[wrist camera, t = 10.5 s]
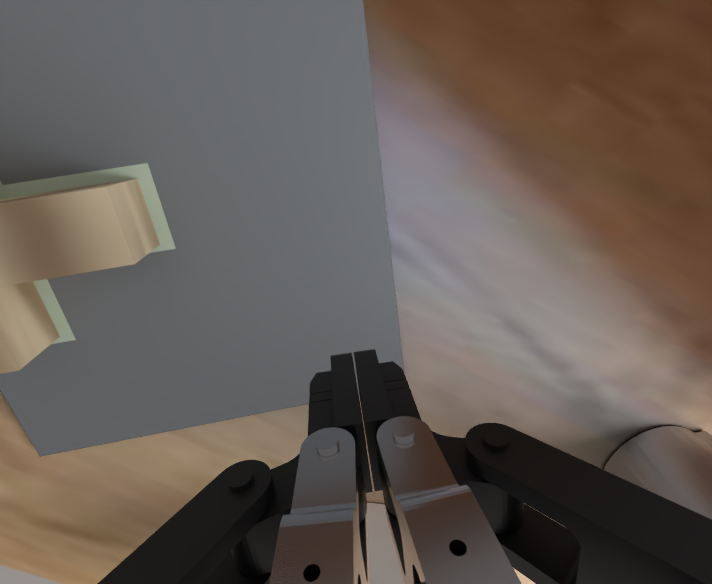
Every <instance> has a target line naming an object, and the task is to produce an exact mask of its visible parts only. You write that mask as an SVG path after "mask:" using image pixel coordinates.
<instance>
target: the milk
mask: <svg viewBox="0 0 712 584" xmlns="http://www.w3.org/2000/svg"><path fill="white" fill-rule="evenodd" d="M366 519H367V535H368V558H369V580H370V584H404V580H403V577H402V573H401V569H400V565H399V562H398V558H397V554H396V551H395V547H394V543H393V539H392V536H391V532H390V528H389V524H388V521H387V516H386V509H385V504H376V503H367V513H366Z"/></svg>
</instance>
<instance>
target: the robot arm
mask: <svg viewBox="0 0 712 584" xmlns="http://www.w3.org/2000/svg"><path fill="white" fill-rule="evenodd" d="M330 358H331V371H326V372H319V373H316V374H315V376H314V377H313V379H312V380H311V382H310V391H309V394H310V396H309V421H308V437H307V438H306V439H305V441H304V442H303V444H302V446H301V450H300V454H299V455H298V456H296V457H295V458H294V459H292V460H291V461H289V462H287V463H285V464H283V465H281V466H278V467H276V468H273V469H271V470H270V468H269V467H268V466H267V465H266V464H265V463H264V462H261V461H258V460H245V461H241V462H238V463H236V464H234V465H232V466H230V467H228V468H227V469H225V470H224V471H223V472H222V473H221V474H219V475H218V476H217V477H216V478H215V479H214V480H213V481H212V482H211V483H209V484H208V485H207V486H206V487H205V488H204V489H203V490H202V491H201V492H199V493H198V494H197V495H196V496H195V497H194V498H193V499H192V500H190V501H189V502H188V503H187V504H186V505H185V506H184V507H183V508H182V509H180V510H179V511H178V512H177V513H176V514H175V515H174V516H173V517H172V518H170V519H169V520H168V521H167V522H166V523H165V524H164V525H163V526H162V527H160V528H159V529H158V530H157V531H156V532H155V533H154V534H153V535H151V536H150V537H149V538H148V539H147V540H146V541H145V542H144V543H143V544H141V545H140V546H139V547H138V548H137V549H136V550H135V551H134V552H133V553H131V554H130V555H129V556H128V557H127V558H126V559H125V560H124V561H123V562H121V563H120V564H119V565H118V566H117V567H116V568H115V569H114V570H113V571H111V572H110V573H109V574H108V575H107V576H106V577H105V578H104V579H102V580H101V581H100V582H99V583H98V584H370V580H369V558H368V535H367V519H366V513H367V501H366V494H365V493H367V492H372V485H371V477H370V470H369V463H368V456H367V449H366V441H365V434H364V427H365V433H366V439H367V445H368V452H369V458H370V464H371V470H372V476H373V482H374V489H375V491H379V490H383V496H384V501H385V509H386V516H387V521H388V524H389V528H390V532H391V536H392V539H393V543H394V547H395V551H396V554H397V558H398V562H399V565H400V569H401V573H402V577H403V580H404V584H521V582H520V580H519V578H518V577H517V575H516V573H515V571H514V569H513V568H515V569H516V570H518V571H519V572H520V573H522V574H523V575H525V576H526V577H527V578H529V579H530V580H532V581H533V582H534V583H536V584H712V435H710V434H709V433H708V432H706V431H702V432H692V431H690V430H688V429H686V428H683V427H678V426H664V427H659V428H654V429H651V430H648V431H646V432H643V433H641V434H639V435H637V436H635V437H634V438H632V439H630V440H629V441H628V442H626V443H625V444H624V445H622V446H621V447H620V448H619V449H618V450H617V451H616V452H615V453H614V454H613V455H612V457H611V458H610V459H609V461H608V462H607V464H606V466H605V467H604V469H600V468H598V467H596V466H594V465H592V464H589V463H587V462H585V461H583V460H581V459H578V458H576V457H574V456H572V455H570V454H567V453H565V452H563V451H561V450H559V449H557V448H554V447H552V446H550V445H548V444H546V443H543V442H541V441H539V440H537V439H535V438H532V437H530V436H528V435H526V434H524V433H522V432H519V431H517V430H515V429H513V428H511V427H508V426H506V425H502V424H497V423H484V424H479V425H477V426H475V427H473V428H472V429H470V430H469V431H468V433H467V435H466V438H456V437H447V436H443V435H439V434H437V433H435V432H433V431H431V430H430V428H429V427H428V425H427V424H426V423H424V422H423V421H422V420H421V418H420V415H419V412H418V410H417V407H416V404H415V401H414V399H413V396H412V393H411V391H410V389H409V385H408V382H407V381H406V377H405V374H404V372H403V369H402V368H401V367H400V366H398V365H397V364H396V363H395V362H393V361H391V362H385V363H379V361H378V358H377V354H376V350H375V349H371V350H364V351H357V352H354V359H355V366H356V373H357V380H358V388H359V395H360V401H359V395H358V389H357V382H356V376H355V370H354V363H353V357H352V352H351V353H344V354H338V355H331V356H330ZM360 402H361V407H360ZM361 408H362V414H363V420H362V414H361ZM363 421H364V427H363ZM524 503H525V504H524ZM526 504H527V505H526ZM528 505H529V506H528ZM530 506H531V507H532V508H531V507H530ZM533 508H534V509H533ZM535 509H536V510H537V511H536V510H535ZM538 511H539V512H538ZM540 512H541V513H540ZM542 513H543V514H544V515H543V514H542ZM545 515H546V516H545ZM547 516H548V517H549V518H548V517H547ZM550 518H551V519H550ZM552 519H553V520H552ZM554 520H555V521H556V522H555V521H554ZM557 522H558V523H557ZM559 523H560V524H561V525H560V524H559ZM562 525H563V526H562ZM564 526H565V527H564Z"/></svg>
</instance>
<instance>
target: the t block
mask: <svg viewBox="0 0 712 584" xmlns="http://www.w3.org/2000/svg"><path fill="white" fill-rule="evenodd" d="M159 245H160V243H159V240H158V237H157V234H156V231H155V228H154V225H153V222H152V219H151V217H150V214H149V211H148V208H147V205H146V202H145V199H144V196H143V193H142V190H141V187H140V184H139V181H138V178H136V179H130V180H123V181H117V182H110V183H104V184H97V185H91V186H84V187H78V188H71V189H65V190H58V191H51V192H45V193H38V194H32V195H25V196H19V197H12V198H6V199H0V374H2V373H8V372H13V371H19V370H21V369H22V368H23V367H24V366H25V365H27V364H28V363H29V362H30V361H31V360H33V359H34V358H35V357H36V356H37V355H38V354H40V353H41V352H42V351H43V350H44V349H46V348H47V347H48V346H49V345H50V344H52V343H53V342H54V341H55V340H56V339H58V338H59V337H60V336H59V334H58V331H57V329H56V327H55V325H54V323H53V321H52V319H51V317H50V315H49V313H48V311H47V309H46V307H45V305H44V303H43V301H42V299H41V297H40V295H39V293H38V290H37V288H36V286H35V284H34V282H33V281H37V280H43V279H49V278H55V277H61V276H67V275H73V274H79V273H85V272H91V271H97V270H103V269H109V268H115V267H121V266H127V265H133V264H136V263H137V262H138V261H140V260H141V259H142V258H144V257H145V256H146V255H147V254H149V253H150V252H151V251H153V250H154V249H155V248H156V247H158V246H159Z"/></svg>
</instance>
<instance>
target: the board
mask: <svg viewBox="0 0 712 584" xmlns="http://www.w3.org/2000/svg"><path fill="white" fill-rule="evenodd" d="M136 178H138V181H139V184H140V187H141V190H142V193H143V196H144V199H145V202H146V205H147V208H148V211H149V214H150V217H151V219H152V222H153V225H154V228H155V231H156V234H157V237H158V240H159V243H160V245H159V246H158V247H156V248H155V249H154V250H153V251H151V252H150V253H149V254H147V255H146V256H145V257H144V258H142V259H141V260H140V261H138V262H137V263H136V264H133V265H127V266H121V267H115V268H109V269H103V270H97V271H91V272H85V273H79V274H73V275H67V276H61V277H55V278H49V279H43V280H37V281H33V282H34V284H35V286H36V288H37V290H38V293H39V295H40V297H41V299H42V301H43V303H44V305H45V307H46V309H47V311H48V313H49V315H50V317H51V319H52V321H53V323H54V325H55V327H56V329H57V331H58V334H59V336H60V337H59V338H58V339H56V340H55V341H54V342H53V343H52V344H50V345H49V346H48V347H47V348H46V349H44V350H43V351H42V352H41V353H40V354H38V355H37V356H36V357H35V358H34V359H33V360H31V361H30V362H29V363H28V364H27V365H25V366H24V367H23V368H22V369H21V370H19V371H13V372H8V373H2V374H0V390H1V392H2V394H3V395H4V397H5V399H6V400H7V402H8V404H9V405H10V407H11V409H12V410H13V412H14V414H15V415H16V417H17V419H18V421H19V422H20V424H21V426H22V427H23V429H24V431H25V432H26V434H27V436H28V437H29V439H30V441H31V442H32V444H33V446H34V448H35V449H36V451H37V453H38V454H39V456H45V455H50V454H55V453H61V452H66V451H71V450H76V449H81V448H86V447H91V446H96V445H101V444H106V443H111V442H117V441H122V440H127V439H132V438H137V437H142V436H147V435H152V434H157V433H162V432H168V431H173V430H178V429H183V428H188V427H193V426H198V425H203V424H208V423H213V422H218V421H224V420H229V419H234V418H239V417H244V416H249V415H254V414H259V413H264V412H269V411H275V410H280V409H285V408H290V407H295V406H300V405H305V404H309V396H310V394H309V391H310V382H311V380H312V379H313V377H314V376H315V374H316V373H319V372H326V371H331V358H330V356H331V355H338V354H344V353H351V352H352V357H353V363H354V370H355V376H356V382H357V389H358V394H359V388H358V380H357V373H356V366H355V359H354V352H357V351H364V350H371V349H375V350H376V354H377V358H378V361H379V363H385V362H391V361H393V362H395V363H396V364H397V365H398V366H400V367H401V368H402V369H403V372H404V367H403V358H402V349H401V340H400V331H399V322H398V313H397V304H396V295H395V286H394V277H393V268H392V259H391V250H390V241H389V232H388V223H387V214H386V205H385V196H384V187H383V178H382V169H381V160H380V151H379V142H378V133H377V124H376V115H375V105H374V96H373V87H372V78H371V69H370V60H369V51H368V42H367V33H366V24H365V15H364V6H363V0H0V199H6V198H12V197H19V196H25V195H32V194H38V193H45V192H51V191H58V190H65V189H71V188H78V187H84V186H91V185H97V184H104V183H110V182H117V181H123V180H130V179H136Z"/></svg>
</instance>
